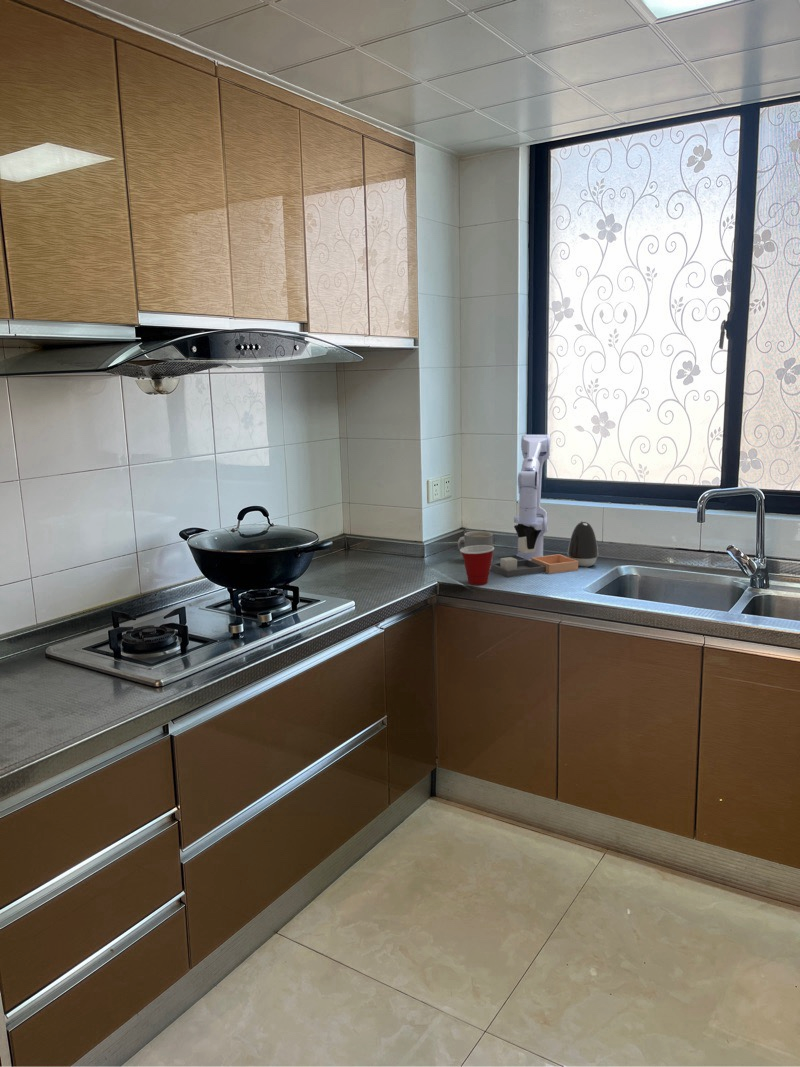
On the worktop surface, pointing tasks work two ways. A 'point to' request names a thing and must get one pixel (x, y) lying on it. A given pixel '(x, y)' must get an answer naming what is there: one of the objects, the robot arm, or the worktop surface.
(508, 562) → the stone
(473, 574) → the plastic cup
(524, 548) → the stone
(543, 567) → the parts tray
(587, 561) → the dark grey rounded dome
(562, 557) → the terracotta dish
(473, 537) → the coffee mug
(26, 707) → the worktop surface
